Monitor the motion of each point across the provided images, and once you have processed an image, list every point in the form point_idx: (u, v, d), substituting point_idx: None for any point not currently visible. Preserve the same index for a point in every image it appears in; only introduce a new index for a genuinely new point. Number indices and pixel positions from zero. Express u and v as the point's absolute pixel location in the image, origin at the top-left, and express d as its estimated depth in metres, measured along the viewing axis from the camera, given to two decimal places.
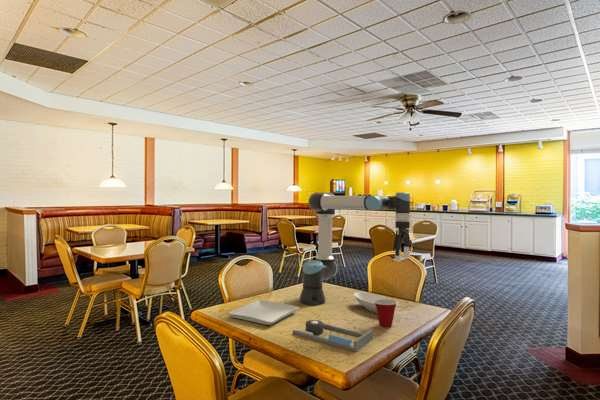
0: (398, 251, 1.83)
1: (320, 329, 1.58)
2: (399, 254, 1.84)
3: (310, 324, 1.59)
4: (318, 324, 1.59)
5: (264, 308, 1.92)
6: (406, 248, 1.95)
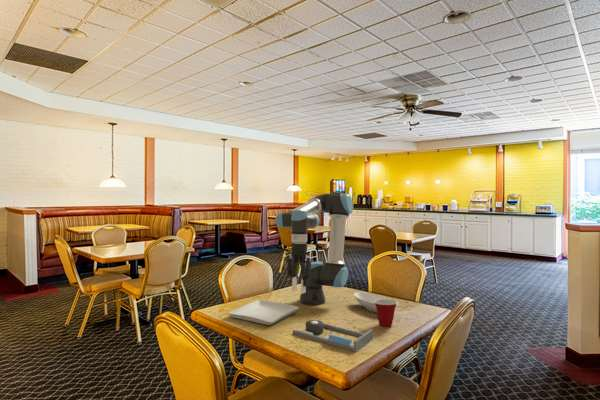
0: (292, 279, 1.67)
1: (320, 329, 1.58)
2: (292, 283, 1.67)
3: (310, 324, 1.59)
4: (318, 324, 1.59)
5: (264, 308, 1.92)
6: None
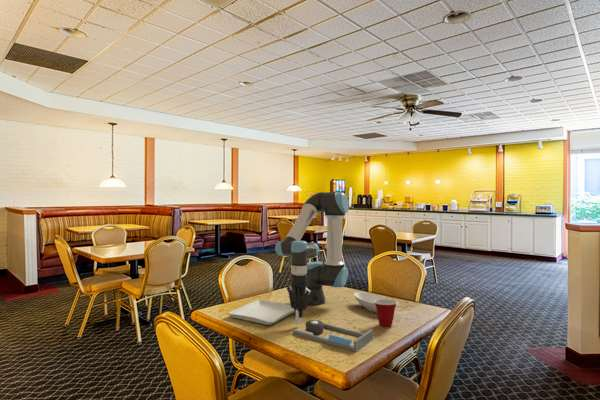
0: (295, 311, 1.66)
1: (320, 329, 1.58)
2: (295, 315, 1.65)
3: (310, 324, 1.59)
4: (318, 324, 1.59)
5: (264, 308, 1.92)
6: None
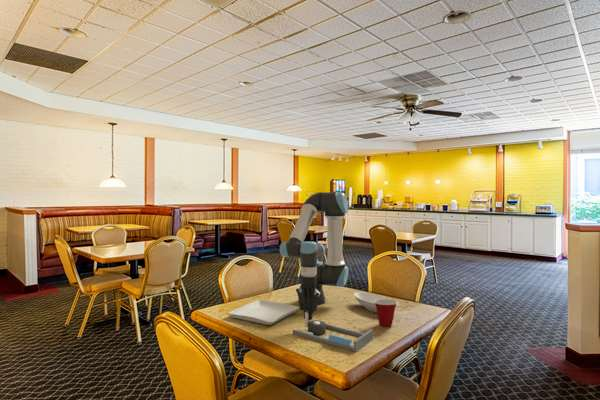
0: (304, 313, 1.63)
1: (323, 329, 1.57)
2: (305, 317, 1.62)
3: (312, 325, 1.58)
4: (320, 324, 1.58)
5: (264, 308, 1.92)
6: None
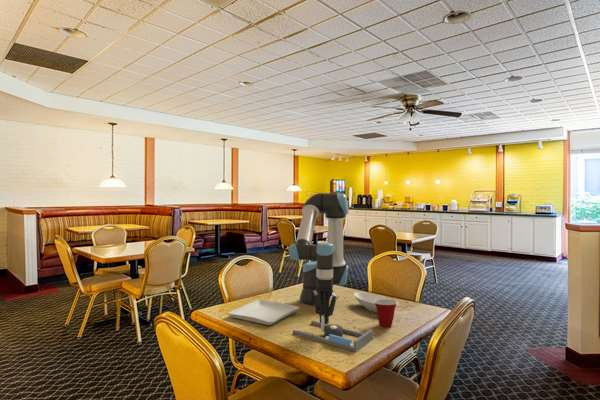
0: (320, 317, 1.58)
1: (340, 334, 1.52)
2: (321, 321, 1.57)
3: (329, 329, 1.53)
4: (337, 329, 1.53)
5: (264, 308, 1.92)
6: None
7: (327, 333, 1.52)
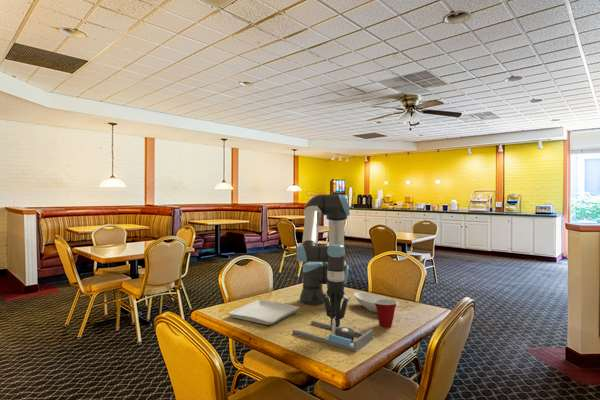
0: (331, 320, 1.54)
1: (351, 337, 1.48)
2: (332, 324, 1.54)
3: (340, 332, 1.49)
4: (349, 332, 1.49)
5: (264, 308, 1.92)
6: None
7: None
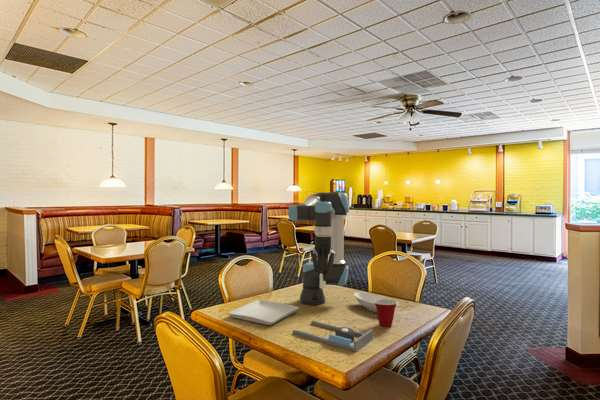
0: (319, 275, 1.59)
1: (351, 337, 1.48)
2: (319, 279, 1.59)
3: (340, 332, 1.49)
4: (349, 332, 1.49)
5: (264, 308, 1.92)
6: None
7: None
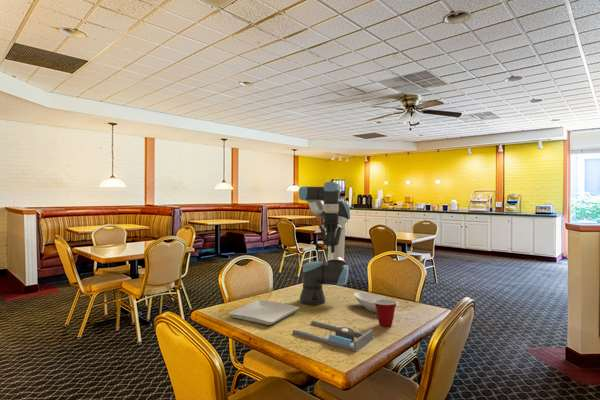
0: (327, 247, 1.78)
1: (351, 337, 1.48)
2: (328, 251, 1.77)
3: (340, 332, 1.49)
4: (349, 332, 1.49)
5: (264, 308, 1.92)
6: None
7: None
